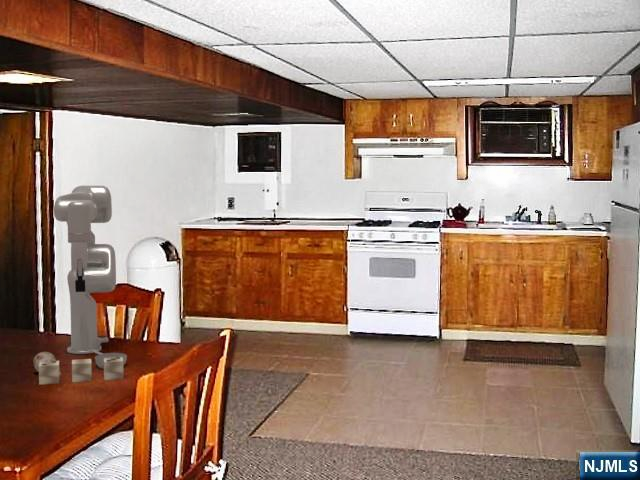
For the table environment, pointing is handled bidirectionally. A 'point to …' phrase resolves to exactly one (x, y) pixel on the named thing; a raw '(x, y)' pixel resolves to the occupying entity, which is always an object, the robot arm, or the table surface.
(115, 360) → the pip block
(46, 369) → the pip block
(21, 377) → the table surface
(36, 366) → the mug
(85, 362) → the plain block
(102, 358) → the small pan
